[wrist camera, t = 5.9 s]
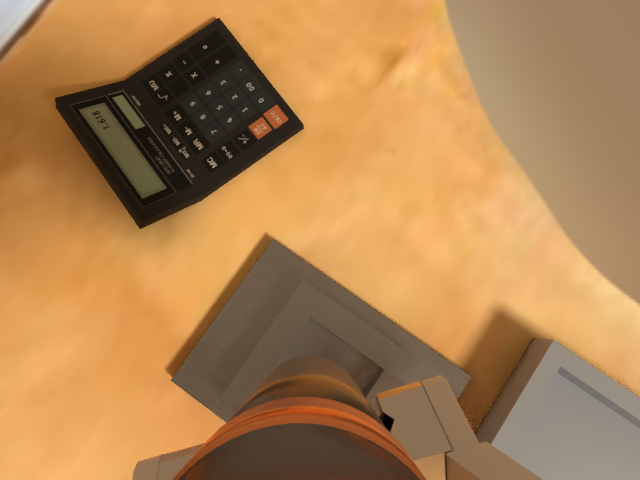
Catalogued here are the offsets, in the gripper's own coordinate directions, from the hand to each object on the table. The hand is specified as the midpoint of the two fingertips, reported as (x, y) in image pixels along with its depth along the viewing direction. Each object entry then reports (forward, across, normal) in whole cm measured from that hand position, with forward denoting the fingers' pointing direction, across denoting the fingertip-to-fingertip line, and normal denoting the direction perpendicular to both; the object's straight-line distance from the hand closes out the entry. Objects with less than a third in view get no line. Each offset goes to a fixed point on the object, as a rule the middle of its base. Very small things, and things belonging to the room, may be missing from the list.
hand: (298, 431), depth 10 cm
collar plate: (+12, 0, +13) cm, 18 cm away
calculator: (+25, +4, +2) cm, 25 cm away
